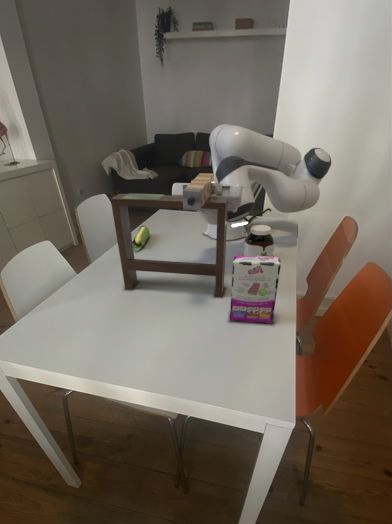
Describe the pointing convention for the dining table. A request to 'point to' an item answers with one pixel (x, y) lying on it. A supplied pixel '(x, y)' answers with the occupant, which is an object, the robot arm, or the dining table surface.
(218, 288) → the dark brown wooden frame
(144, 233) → the edible corn
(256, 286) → the candy bar box
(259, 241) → the spread jar
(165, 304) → the dining table surface
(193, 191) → the light wood square bar
